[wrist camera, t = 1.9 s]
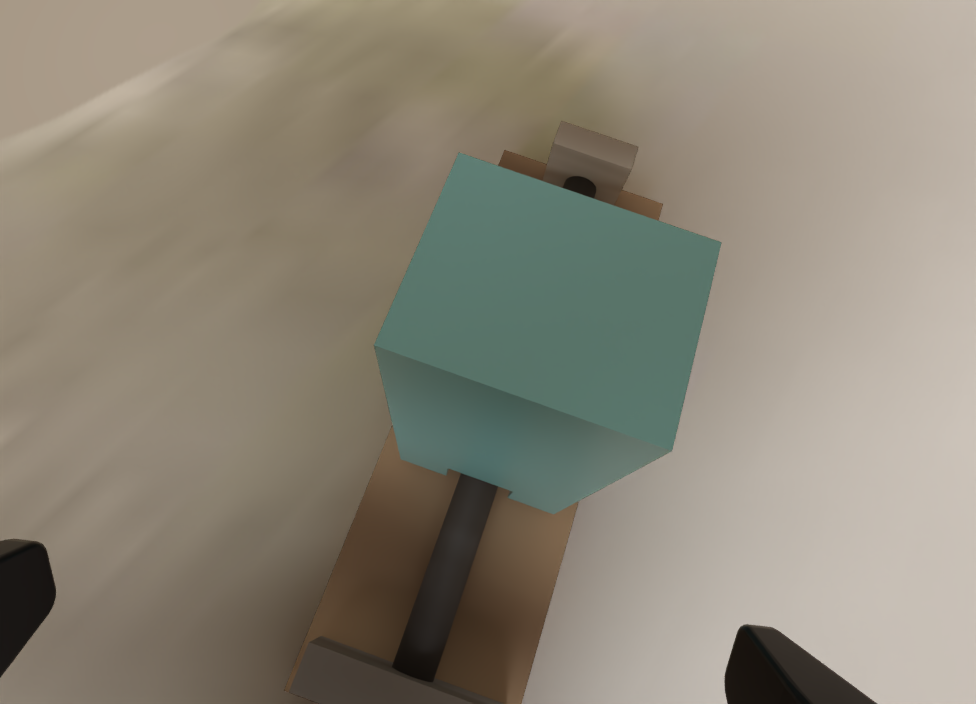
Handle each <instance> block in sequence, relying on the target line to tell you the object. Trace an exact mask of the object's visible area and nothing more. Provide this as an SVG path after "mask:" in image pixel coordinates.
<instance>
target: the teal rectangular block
mask: <svg viewBox="0 0 976 704" xmlns="http://www.w3.org/2000/svg"><path fill="white" fill-rule="evenodd" d="M720 246H721V242H719V241H716V240H713V239H710V238H707V237H704V236H701V235H698V234H695V233H693V232H690V231H687V230H684V229H681V228H678V227H675V226H672V225H669V224H666V223H663V222H660V221H657V220H655V219H652V218H649V217H646V216H643V215H640V214H637V213H634V212H631V211H628V210H625V209H622V208H620V207H617V206H614V205H611V204H608V203H605V202H602V201H599V200H596V199H593V198H590V197H587V196H585V195H582V194H579V193H576V192H573V191H570V190H567V189H564V188H561V187H558V186H555V185H552V184H550V183H547V182H544V181H541V180H538V179H535V178H532V177H529V176H526V175H523V174H520V173H517V172H514V171H512V170H509V169H506V168H503V167H500V166H497V165H494V164H491V163H488V162H485V161H482V160H479V159H477V158H474V157H471V156H468V155H465V154H462V153H458V156H457V158H456V160H455V162H454V165H453V167H452V169H451V172H450V174H449V176H448V178H447V181H446V183H445V185H444V187H443V190H442V192H441V194H440V197H439V199H438V201H437V203H436V206H435V208H434V210H433V212H432V215H431V217H430V219H429V222H428V224H427V226H426V228H425V231H424V233H423V235H422V237H421V240H420V242H419V244H418V246H417V249H416V251H415V253H414V256H413V258H412V260H411V262H410V265H409V267H408V269H407V271H406V274H405V276H404V278H403V281H402V283H401V285H400V287H399V290H398V292H397V294H396V296H395V299H394V301H393V303H392V306H391V308H390V310H389V312H388V315H387V317H386V319H385V321H384V324H383V326H382V328H381V331H380V333H379V335H378V337H377V340H376V342H375V344H374V347H375V351H376V356H377V360H378V364H379V369H380V373H381V377H382V381H383V386H384V390H385V394H386V398H387V403H388V407H389V411H390V416H391V420H392V424H393V428H394V433H395V437H396V441H397V445H398V450H399V454H400V458H401V460H404V461H407V462H410V463H412V464H415V465H418V466H421V467H424V468H426V469H429V470H432V471H435V472H437V473H440V474H443V475H447V472H448V470H449V469H451V470H454V471H457V472H460V473H462V474H465V475H468V476H471V477H474V478H476V479H479V480H482V481H485V482H487V483H490V484H493V485H496V486H499V487H501V488H504V489H507V490H510V491H509V495H508V498H509V499H512V500H515V501H518V502H521V503H523V504H526V505H529V506H532V507H534V508H537V509H540V510H543V511H545V512H548V513H551V514H555V513H557V512H559V511H561V510H563V509H565V508H567V507H568V506H570V505H572V504H574V503H576V502H578V501H580V500H581V499H583V498H585V497H587V496H589V495H591V494H593V493H595V492H596V491H598V490H600V489H602V488H604V487H606V486H608V485H609V484H611V483H613V482H615V481H617V480H619V479H621V478H623V477H624V476H626V475H628V474H630V473H632V472H634V471H636V470H637V469H639V468H641V467H643V466H645V465H647V464H649V463H651V462H652V461H654V460H656V459H658V458H660V457H662V456H664V455H665V454H667V453H669V452H671V451H672V449H673V445H674V441H675V436H676V432H677V428H678V424H679V419H680V415H681V411H682V407H683V403H684V398H685V394H686V390H687V386H688V381H689V377H690V373H691V369H692V365H693V360H694V356H695V352H696V348H697V343H698V339H699V335H700V331H701V327H702V322H703V318H704V314H705V310H706V305H707V301H708V297H709V293H710V289H711V284H712V280H713V276H714V272H715V267H716V263H717V259H718V255H719V251H720Z"/></svg>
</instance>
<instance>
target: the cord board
mask: <svg viewBox="0 0 976 704" xmlns="http://www.w3.org/2000/svg"><path fill="white" fill-rule="evenodd" d="M637 151H638V147H637V146H634V145H631V144H629V143H626V142H623V141H620V140H617V139H614V138H611V137H608V136H605V135H602V134H599V133H596V132H593V131H590V130H587V129H584V128H581V127H578V126H575V125H572V124H570V123H567V122H564V121H561V123H560V126H559V129H558V131H557V134H556V137H555V139H554V142H553V145H552V149H551V152H550V156H549V159H548V163H547V164H544V163H542V162H539V161H536V160H533V159H530V158H527V157H524V156H521V155H518V154H515V153H512V152H509V151H506V150H504V153H503V155H502V158H501V160H500V163H499V165H498V166H500V167H503V168H506V169H509V170H512V171H514V172H517V173H520V174H523V175H526V176H529V177H532V178H535V179H538V180H541V181H544V182H547V183H550V184H552V185H555V186H558V187H561V188H564V189H567V190H570V191H573V192H576V193H579V194H582V195H585V196H587V197H590V198H593V199H596V200H599V201H602V202H605V203H608V204H611V205H614V206H617V207H620V208H622V209H625V210H628V211H631V212H634V213H637V214H640V215H643V216H646V217H649V218H652V219H655V220H657V221H658V220H659V216H660V213H661V209H662V206H663V204H662V203H659V202H656V201H653V200H650V199H647V198H644V197H641V196H638V195H635V194H632V193H629V192H626V191H623V190H622V188H623V186H624V184H625V182H626V180H627V178H628V176H629V174H630V172H631V170H632V167H633V163H634V160H635V157H636V154H637ZM509 491H510V490H507V489H504V488H501V487H499V486H496V485H493V484H490V483H487V482H485V481H482V480H479V479H476V478H474V477H471V476H468V475H465V474H462V473H460V472H457V471H454V470H451V469H449V470H448V472H447V475H443V474H440V473H437V472H435V471H432V470H429V469H426V468H424V467H421V466H418V465H415V464H412V463H410V462H407V461H404V460H401V458H400V454H399V450H398V445H397V441H396V437H395V433H394V428H393V425H392V427H391V430H390V432H389V434H388V437H387V439H386V442H385V444H384V447H383V449H382V452H381V454H380V456H379V459H378V461H377V464H376V466H375V469H374V471H373V474H372V476H371V478H370V481H369V483H368V486H367V488H366V491H365V493H364V496H363V498H362V501H361V503H360V505H359V508H358V510H357V513H356V515H355V518H354V520H353V523H352V525H351V527H350V530H349V532H348V535H347V537H346V540H345V542H344V545H343V547H342V550H341V552H340V554H339V557H338V559H337V562H336V564H335V567H334V569H333V572H332V574H331V576H330V579H329V581H328V584H327V586H326V589H325V591H324V594H323V596H322V598H321V601H320V603H319V606H318V608H317V611H316V613H315V616H314V618H313V621H312V623H311V625H310V628H309V630H308V633H307V635H306V638H305V640H304V643H303V645H302V647H301V650H300V652H299V655H298V657H297V660H296V662H295V665H294V667H293V670H292V672H291V674H290V677H289V679H288V682H287V684H286V687H285V689H284V691H286V692H289V693H292V694H294V695H297V696H300V697H302V698H305V699H308V700H310V701H313V702H316V703H318V704H521V703H522V699H523V696H524V692H525V689H526V685H527V682H528V678H529V675H530V671H531V668H532V664H533V661H534V657H535V654H536V650H537V646H538V643H539V639H540V636H541V632H542V629H543V625H544V622H545V618H546V615H547V611H548V608H549V604H550V601H551V597H552V594H553V590H554V587H555V583H556V579H557V576H558V572H559V569H560V565H561V562H562V558H563V555H564V551H565V548H566V544H567V541H568V537H569V534H570V530H571V527H572V523H573V519H574V516H575V512H576V509H577V505H578V502H579V501H578V502H576V503H574V504H572V505H570V506H568V507H567V508H565V509H563V510H561V511H559V512H557V513H555V514H551V513H548V512H545V511H543V510H540V509H537V508H534V507H532V506H529V505H526V504H523V503H521V502H518V501H515V500H512V499H509V498H508V495H509Z"/></svg>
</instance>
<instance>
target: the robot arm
mask: <svg viewBox="0 0 976 704" xmlns="http://www.w3.org/2000/svg"><path fill="white" fill-rule="evenodd" d="M55 597H56V587H55V583H54V578H53V574H52V570H51V566H50V562H49V557H48V553H47V550H46V548H45V547H44V545H43V544H42V543H39V542H37V541H29V540H20V539H8V540H3V541H0V677H1V676H2V675H3V673H4V672H5V671H6V669H7V668H8V667H9V666H10V664H11V663H12V662H13V660H14V659H15V658H16V656H17V655H18V654H19V652H20V651H21V650H22V648H23V647H24V646H25V644H26V643H27V642H28V640H29V639H30V638H31V637H32V635H33V634H34V633H35V631H36V630H37V629H38V627H39V626H40V625H41V623H42V622H43V621H44V619H45V618H46V617H47V615H48V614H49V612H50V611H51V609H52V607H53V604H54V601H55ZM725 693H726V698H727V703H728V704H877V703H876V702H874V701H873V700H872V699H870V698H869V697H868V696H866V695H865V694H863V693H862V692H861V691H859V690H858V689H857V688H855V687H854V686H853V685H851V684H850V683H849V682H847V681H846V680H844V679H843V678H842V677H840V676H839V675H838V674H836V673H835V672H834V671H832V670H831V669H830V668H828V667H827V666H826V665H824V664H823V663H821V662H820V661H819V660H817V659H816V658H815V657H813V656H812V655H811V654H809V653H808V652H807V651H805V650H804V649H803V648H801V647H800V646H798V645H797V644H796V643H794V642H793V641H792V640H790V639H789V638H788V637H786V636H785V635H784V634H782V633H781V632H779V631H778V630H776V629H774V628H772V627H765V626H757V625H748V624H746V625H743V626H741V627H740V628H739V630H738V632H737V635H736V638H735V641H734V645H733V648H732V651H731V655H730V658H729V661H728V665H727V668H726V672H725Z"/></svg>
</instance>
